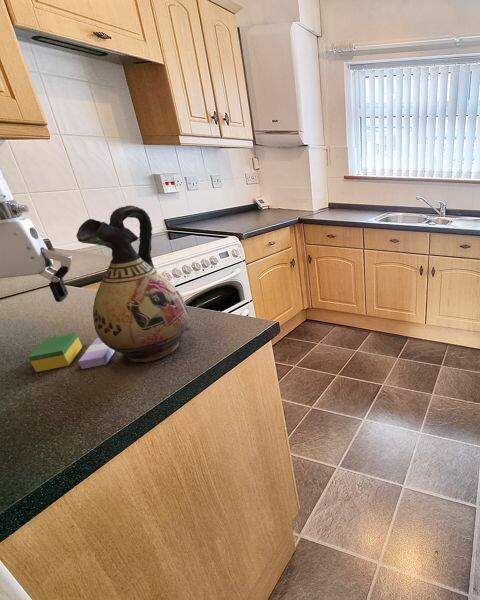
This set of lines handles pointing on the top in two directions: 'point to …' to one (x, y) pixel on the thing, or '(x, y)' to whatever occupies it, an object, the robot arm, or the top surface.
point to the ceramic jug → (134, 292)
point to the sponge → (55, 352)
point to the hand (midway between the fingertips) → (28, 303)
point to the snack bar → (96, 355)
